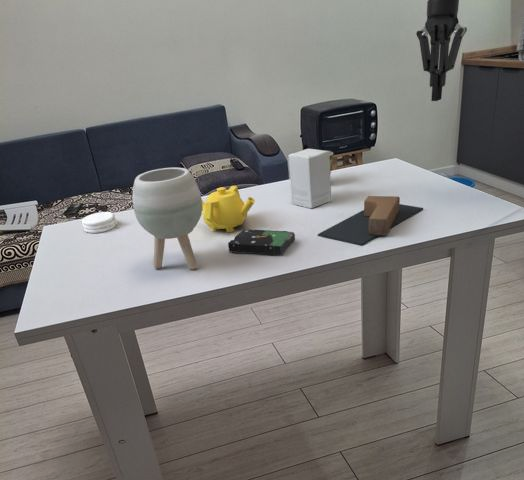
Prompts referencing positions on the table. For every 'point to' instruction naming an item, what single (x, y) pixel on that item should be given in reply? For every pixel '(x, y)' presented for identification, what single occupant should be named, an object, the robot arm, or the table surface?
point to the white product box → (310, 177)
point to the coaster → (99, 222)
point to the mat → (363, 226)
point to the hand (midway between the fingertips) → (436, 100)
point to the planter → (168, 209)
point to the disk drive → (262, 242)
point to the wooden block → (381, 213)
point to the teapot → (225, 209)
